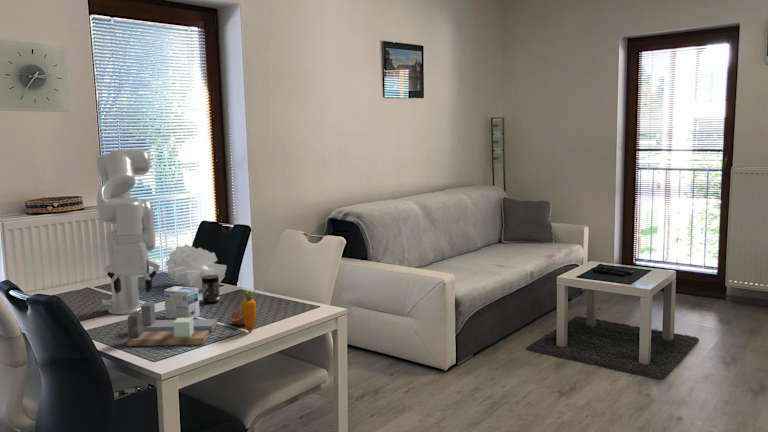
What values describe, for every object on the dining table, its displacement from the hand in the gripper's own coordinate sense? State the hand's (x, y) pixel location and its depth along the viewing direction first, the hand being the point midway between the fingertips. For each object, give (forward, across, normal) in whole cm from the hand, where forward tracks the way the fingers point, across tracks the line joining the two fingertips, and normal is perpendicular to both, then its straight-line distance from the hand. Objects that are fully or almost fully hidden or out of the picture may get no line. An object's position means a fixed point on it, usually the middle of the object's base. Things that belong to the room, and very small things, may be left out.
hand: (133, 291), depth 211 cm
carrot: (+17, +35, +9) cm, 40 cm away
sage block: (+15, +15, +1) cm, 21 cm away
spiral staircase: (+16, +1, +74) cm, 75 cm away
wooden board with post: (+17, +10, +1) cm, 20 cm away
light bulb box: (+17, +7, +29) cm, 34 cm away
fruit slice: (+17, +30, +18) cm, 39 cm away
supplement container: (+16, +13, +49) cm, 53 cm away
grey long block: (+17, +10, +14) cm, 24 cm away
